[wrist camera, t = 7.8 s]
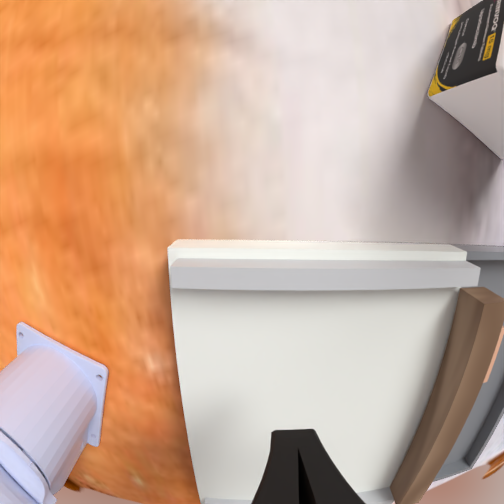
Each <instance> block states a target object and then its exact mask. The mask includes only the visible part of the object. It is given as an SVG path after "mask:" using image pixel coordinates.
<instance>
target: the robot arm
mask: <svg viewBox="0 0 504 504" xmlns="http://www.w3.org/2000/svg"><path fill="white" fill-rule="evenodd" d="M22 334H23V335H22ZM108 374H109V371H108V369H107V367H106V366H104V365H103V364H101V363H99V362H96V361H94V360H92V359H90V358H88V357H86V356H84V355H82V354H80V353H78V352H76V351H74V350H72V349H70V348H68V347H66V346H64V345H63V344H61V343H59V342H57V341H55V340H53V339H51V338H50V337H48V336H46V335H44V334H42V333H41V332H39V331H37V330H35V329H34V328H32V327H30V326H29V325H27V324H25V323H24V322H20V323H18V324H17V357H16V358H15V359H14V360H13V361H12V362H10V363H9V364H8V365H7V366H6V367H5V368H4V369H3V370H2V371H1V372H0V504H55V503H56V501H57V499H56V498H55V497H54V496H53V495H54V494H55V493H57V492H58V491H59V490H60V489H61V488H62V487H63V485H64V484H65V482H66V480H67V478H68V476H69V475H70V473H71V471H72V469H73V467H74V465H75V464H76V462H77V460H78V458H79V456H80V455H81V453H82V451H83V449H84V447H85V446H86V444H87V443H88V444H90V445H92V446H96V447H97V446H99V444H100V437H101V427H102V418H103V410H104V402H105V394H106V387H107V380H108ZM99 375H101V376H102V377H100V376H99ZM251 504H366V503H365V502H364V501H363V500H362V499H361V498H360V497H359V496H358V495H357V493H356V492H355V491H354V490H353V489H352V487H351V486H350V485H349V484H348V482H347V481H346V480H345V478H344V477H343V476H342V474H341V473H340V471H339V470H338V468H337V467H336V466H335V464H334V463H333V461H332V460H331V458H330V456H329V455H328V453H327V451H326V450H325V448H324V446H323V444H322V443H321V441H320V439H319V437H318V435H317V433H316V431H315V430H314V429H294V430H274V431H273V432H271V443H270V452H269V456H268V461H267V464H266V467H265V470H264V473H263V476H262V479H261V482H260V484H259V487H258V489H257V491H256V494H255V496H254V498H253V501H252V503H251Z"/></svg>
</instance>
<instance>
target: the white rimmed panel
mask: <svg viewBox="0 0 504 504" xmlns="http://www.w3.org/2000/svg"><path fill="white" fill-rule="evenodd" d="M466 257H467V252H466V251H464V250H462V249H459V248H457V247H455V246H452V245H450V244H424V243H386V242H341V241H284V240H197V239H177V240H176V241H175V242H174V243H172V244H171V245H170V246H169V247H168V266H169V281H170V295H171V307H172V319H173V329H174V339H175V349H176V358H177V366H178V374H179V382H180V389H181V397H182V404H183V410H184V417H185V423H186V429H187V435H188V441H189V447H190V453H191V458H192V463H193V469H194V474H195V479H196V484H197V488H198V493H199V498H200V502H201V504H251V503H252V501H253V498H254V496H255V494H256V491H257V489H258V487H259V484H260V482H261V479H262V476H263V473H264V470H265V467H266V464H267V461H268V456H269V452H270V443H271V432H273V431H274V430H294V429H314V430H315V431H316V433H317V435H318V437H319V439H320V441H321V443H322V444H323V446H324V448H325V450H326V451H327V453H328V455H329V456H330V458H331V460H332V461H333V463H334V464H335V466H336V467H337V468H338V470H339V471H340V473H341V474H342V476H343V477H344V478H345V480H346V481H347V482H348V484H349V485H350V486H351V487H352V489H353V490H354V491H355V492H356V493H357V495H358V496H359V497H360V498H361V499H362V500H363V501H364V502H365V503H366V504H392V503H393V501H394V498H393V495H392V492H391V490H390V485H391V483H392V481H393V479H394V477H395V476H396V474H397V472H398V470H399V468H400V466H401V464H402V462H403V460H404V457H405V455H406V453H407V451H408V449H409V447H410V445H411V442H412V440H413V438H414V436H415V433H416V431H417V429H418V426H419V424H420V421H421V419H422V416H423V414H424V411H425V409H426V406H427V403H428V401H429V398H430V395H431V392H432V390H433V387H434V384H435V381H436V378H437V375H438V372H439V369H440V365H441V362H442V359H443V356H444V352H445V349H446V345H447V341H448V338H449V334H450V330H451V326H452V322H453V318H454V314H455V309H456V305H457V300H458V295H459V290H460V288H461V287H471V286H478V280H479V275H480V269H481V268H480V267H478V266H476V265H474V264H472V263H470V262H468V261H466Z"/></svg>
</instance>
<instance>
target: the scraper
mask: <svg viewBox="0 0 504 504" xmlns="http://www.w3.org/2000/svg"><path fill="white" fill-rule="evenodd" d="M503 322H504V298H502V297H500V296H499V295H497V294H495V293H494V292H492V291H490V290H489V289H487V288H485V287H471V288H460V290H459V295H458V300H457V305H456V309H455V314H454V318H453V322H452V326H451V330H450V334H449V338H448V341H447V345H446V349H445V352H444V356H443V359H442V362H441V365H440V369H439V372H438V375H437V378H436V381H435V384H434V387H433V390H432V392H431V395H430V398H429V401H428V403H427V406H426V409H425V411H424V414H423V416H422V419H421V421H420V424H419V426H418V429H417V431H416V433H415V436H414V438H413V440H412V442H411V445H410V447H409V449H408V451H407V453H406V455H405V457H404V460H403V462H402V464H401V466H400V468H399V470H398V472H397V474H396V476H395V477H394V479H393V481H392V483H391V485H390V490H391V492H392V495H393V498H394V501H395V504H415V503H418V502H419V501H420V500H421V498H422V497H423V495H424V494H425V492H426V491H427V489H428V488H429V486H430V485H431V483H432V482H433V480H434V478H435V477H436V475H437V474H438V472H439V470H440V469H441V467H442V465H443V464H444V462H445V460H446V458H447V457H448V455H449V453H450V451H451V450H452V448H453V446H454V444H455V442H456V440H457V438H458V437H459V435H460V433H461V431H462V429H463V427H464V425H465V423H466V420H467V418H468V416H469V414H470V412H471V410H472V408H473V405H474V403H475V401H476V399H477V396H478V394H479V391H480V389H481V387H482V384H483V382H484V379H485V376H486V374H487V371H488V369H489V366H490V363H491V360H492V357H493V354H494V351H495V348H496V345H497V342H498V339H499V336H500V333H501V329H502V326H503Z"/></svg>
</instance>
